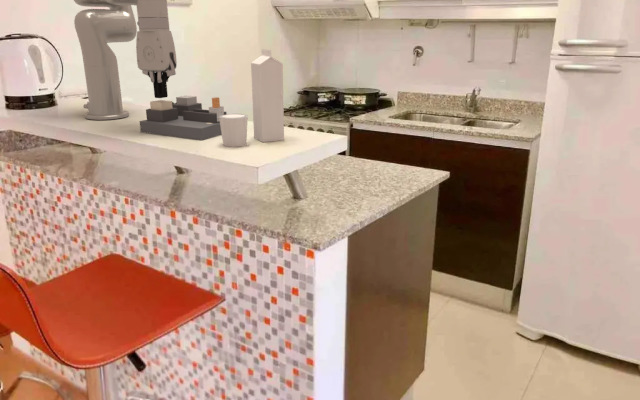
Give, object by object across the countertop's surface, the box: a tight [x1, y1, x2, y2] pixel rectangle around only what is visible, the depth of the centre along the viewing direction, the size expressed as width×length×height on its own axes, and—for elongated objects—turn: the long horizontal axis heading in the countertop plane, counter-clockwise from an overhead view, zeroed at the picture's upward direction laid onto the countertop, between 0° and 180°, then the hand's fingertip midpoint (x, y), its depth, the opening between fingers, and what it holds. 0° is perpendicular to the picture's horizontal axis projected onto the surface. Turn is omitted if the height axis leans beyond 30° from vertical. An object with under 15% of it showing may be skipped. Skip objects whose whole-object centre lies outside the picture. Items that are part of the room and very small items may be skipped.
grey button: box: [175, 95, 198, 106], centre depth 152 cm, size 4×4×4 cm
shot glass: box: [219, 113, 249, 148], centre depth 129 cm, size 7×7×7 cm
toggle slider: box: [208, 96, 225, 122], centre depth 141 cm, size 3×3×6 cm
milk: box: [250, 48, 285, 143], centre depth 133 cm, size 6×6×22 cm
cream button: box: [149, 99, 173, 111], centre depth 144 cm, size 4×4×4 cm
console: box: [139, 102, 228, 141], centre depth 146 cm, size 21×19×6 cm
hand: (161, 97), depth 143 cm, fingers closed
